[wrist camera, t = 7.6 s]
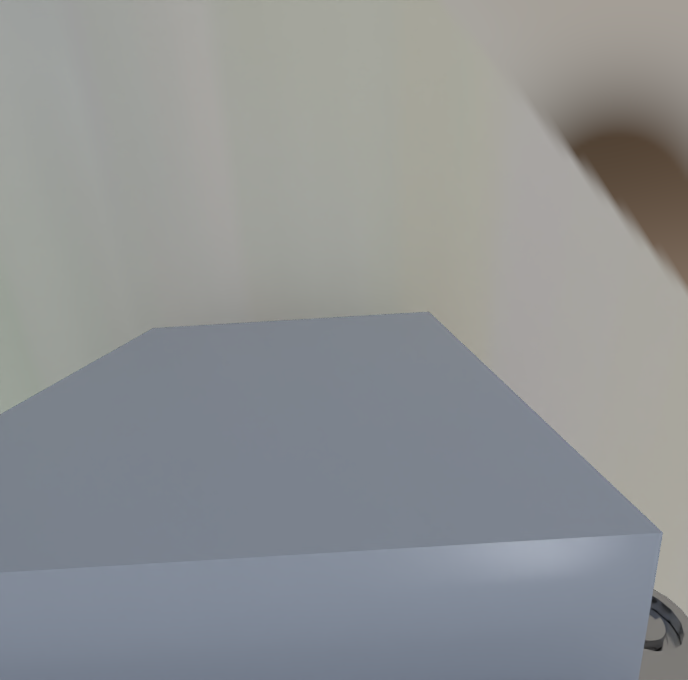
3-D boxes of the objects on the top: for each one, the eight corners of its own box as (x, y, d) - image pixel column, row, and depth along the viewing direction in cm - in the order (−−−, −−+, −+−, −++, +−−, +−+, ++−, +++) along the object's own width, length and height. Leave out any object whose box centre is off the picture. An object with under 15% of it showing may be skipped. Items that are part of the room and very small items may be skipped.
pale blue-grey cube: (152, 328, 12) (-312, 591, 3) (428, 312, 12) (662, 532, 3) (194, 557, 14) (-32, 1085, 5) (430, 543, 14) (577, 1047, 5)
